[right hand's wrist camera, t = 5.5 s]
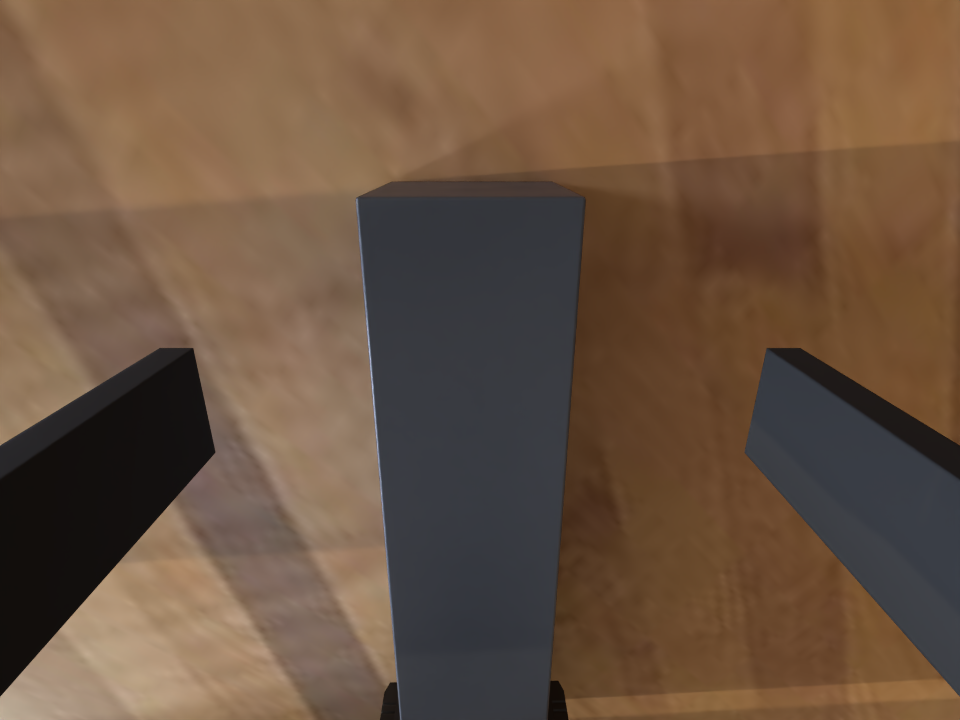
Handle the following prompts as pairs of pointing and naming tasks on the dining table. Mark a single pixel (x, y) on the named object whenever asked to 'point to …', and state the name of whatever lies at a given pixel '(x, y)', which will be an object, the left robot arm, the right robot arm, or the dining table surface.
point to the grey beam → (472, 432)
